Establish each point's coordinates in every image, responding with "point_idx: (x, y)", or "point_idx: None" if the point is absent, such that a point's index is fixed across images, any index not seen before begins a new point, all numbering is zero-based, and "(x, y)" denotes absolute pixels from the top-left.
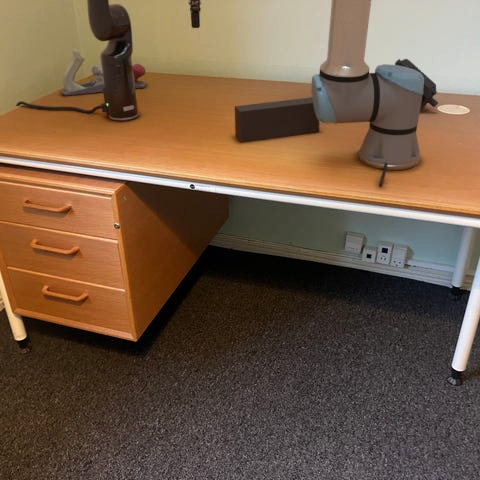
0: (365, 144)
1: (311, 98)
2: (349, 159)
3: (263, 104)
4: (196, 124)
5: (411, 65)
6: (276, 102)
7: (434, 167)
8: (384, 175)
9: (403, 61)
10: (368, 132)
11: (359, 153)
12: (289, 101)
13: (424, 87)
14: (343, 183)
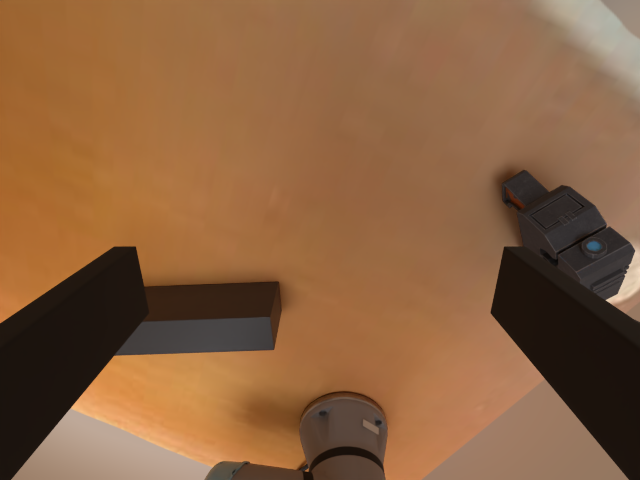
0: (303, 444)
1: (262, 324)
2: (287, 412)
3: (143, 331)
4: (27, 197)
5: (606, 281)
6: (175, 327)
7: (386, 455)
8: (304, 470)
9: (600, 269)
10: (309, 455)
11: (301, 420)
12: (206, 329)
13: None
14: (250, 462)
